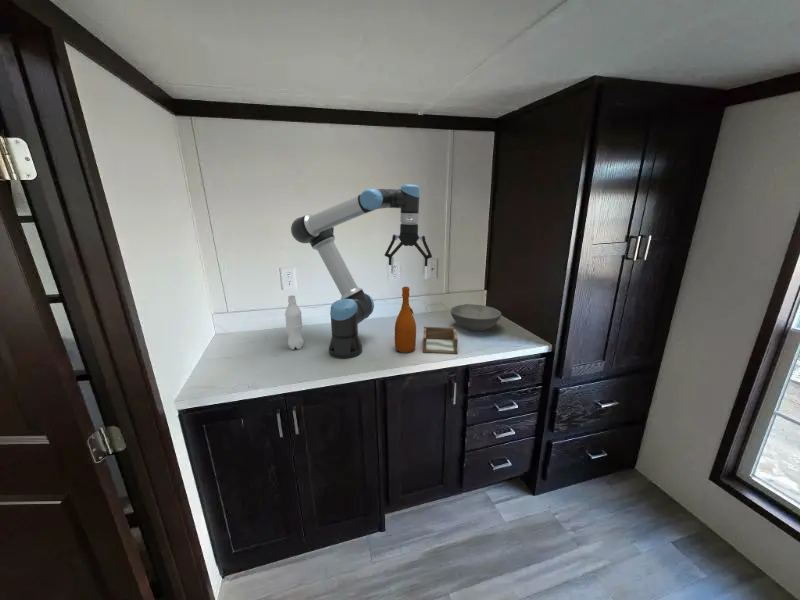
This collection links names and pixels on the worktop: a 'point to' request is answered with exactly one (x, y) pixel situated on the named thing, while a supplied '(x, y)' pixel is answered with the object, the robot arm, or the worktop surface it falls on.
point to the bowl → (475, 316)
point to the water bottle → (294, 324)
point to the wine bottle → (405, 326)
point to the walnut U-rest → (440, 340)
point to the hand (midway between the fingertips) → (407, 273)
